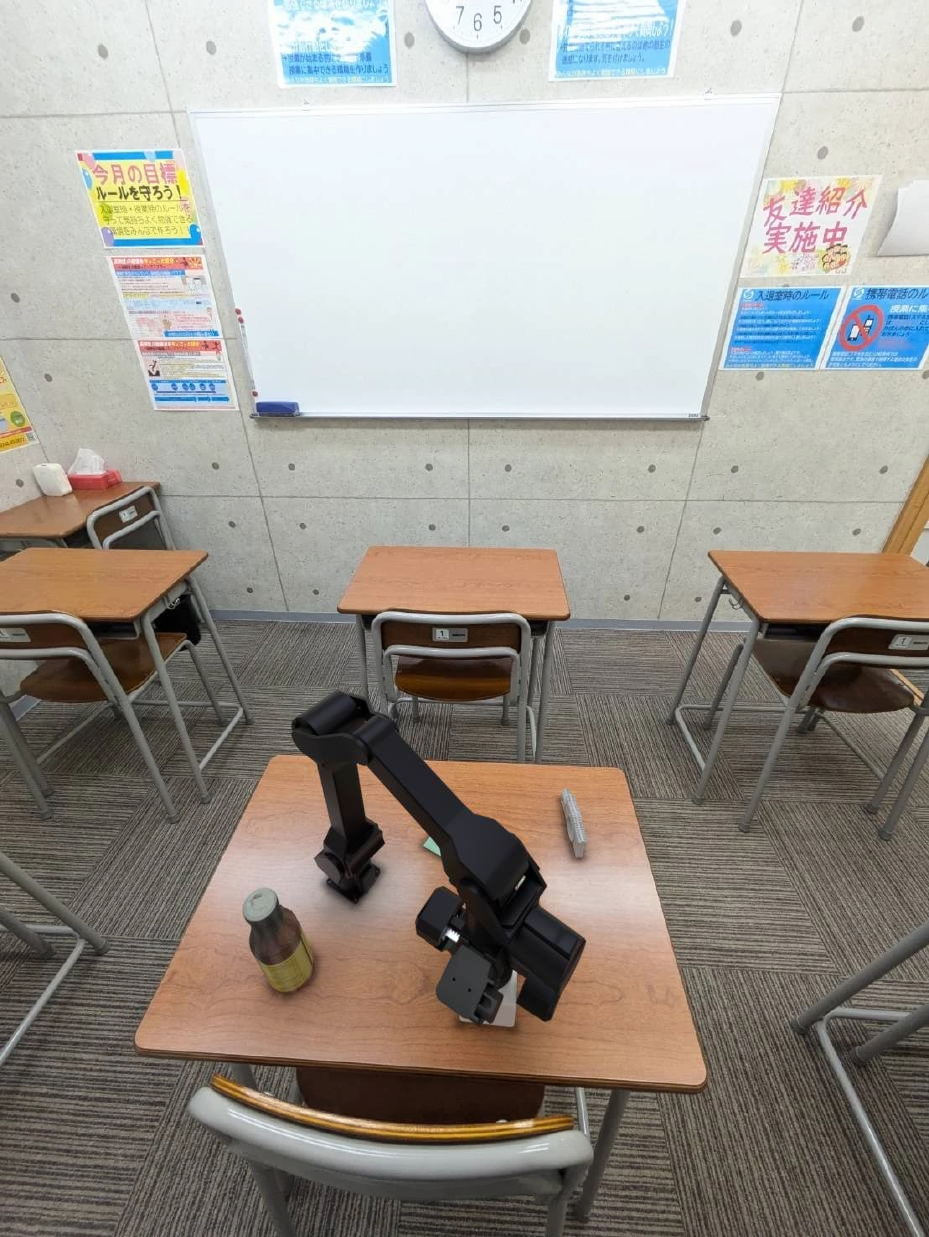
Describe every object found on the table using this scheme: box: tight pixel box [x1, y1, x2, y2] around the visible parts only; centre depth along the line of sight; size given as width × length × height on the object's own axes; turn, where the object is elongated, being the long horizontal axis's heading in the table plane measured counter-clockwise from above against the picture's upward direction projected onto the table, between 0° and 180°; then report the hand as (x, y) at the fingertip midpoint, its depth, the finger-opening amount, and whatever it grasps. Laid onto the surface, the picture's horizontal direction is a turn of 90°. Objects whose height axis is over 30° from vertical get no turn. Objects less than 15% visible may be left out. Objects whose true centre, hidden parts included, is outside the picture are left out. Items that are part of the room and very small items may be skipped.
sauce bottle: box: [241, 886, 315, 995], centre depth 68 cm, size 7×6×20 cm
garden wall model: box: [560, 788, 589, 859], centre depth 90 cm, size 12×2×6 cm, turn 3°
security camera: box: [458, 965, 518, 1028], centre depth 67 cm, size 7×7×12 cm
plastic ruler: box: [423, 836, 441, 858], centre depth 87 cm, size 15×3×1 cm, turn 58°
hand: (488, 977), depth 67 cm, fingers closed on security camera, 9 cm apart
